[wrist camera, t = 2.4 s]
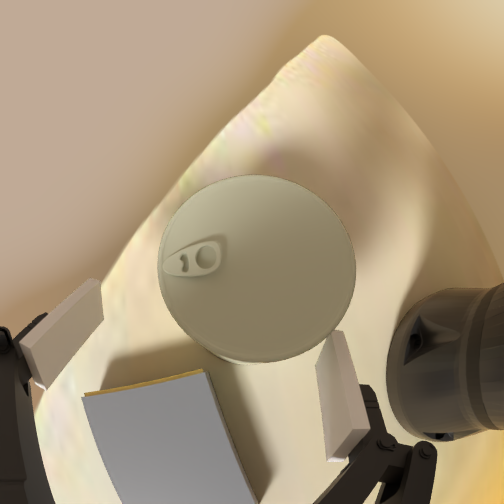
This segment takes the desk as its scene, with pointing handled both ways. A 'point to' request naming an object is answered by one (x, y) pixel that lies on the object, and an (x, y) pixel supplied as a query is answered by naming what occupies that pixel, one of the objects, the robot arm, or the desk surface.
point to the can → (256, 269)
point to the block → (168, 442)
